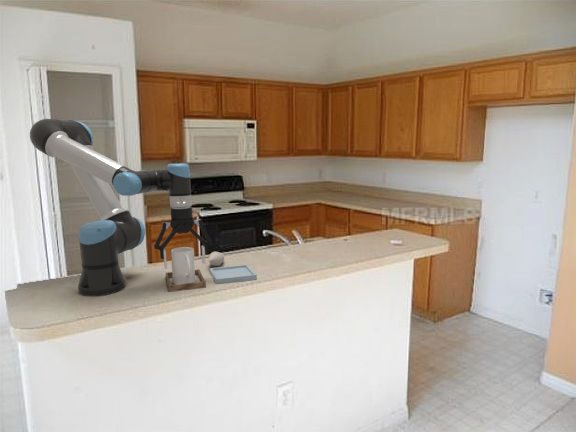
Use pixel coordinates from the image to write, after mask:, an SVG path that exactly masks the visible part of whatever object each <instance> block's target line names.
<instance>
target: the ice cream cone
mask: <svg viewBox="0 0 576 432" xmlns="http://www.w3.org/2000/svg"><path fill="white" fill-rule="evenodd" d="M224 260H225V255H224V254H223V253H222V252H219V251H212V252H211V253H210V254H209V255H208V260H207V261H208V263H209V265H211V266H212V267H220V266H221V264H223V262H224Z"/></svg>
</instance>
